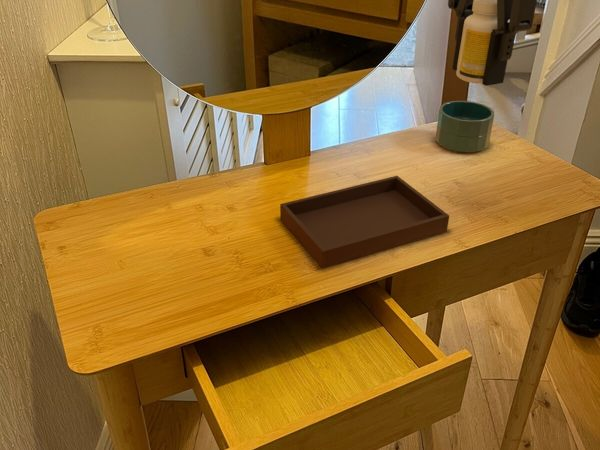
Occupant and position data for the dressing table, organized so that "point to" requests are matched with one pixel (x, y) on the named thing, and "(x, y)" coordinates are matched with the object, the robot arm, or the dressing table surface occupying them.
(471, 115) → the cup
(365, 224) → the tray
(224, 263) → the dressing table surface
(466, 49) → the supplement bottle
